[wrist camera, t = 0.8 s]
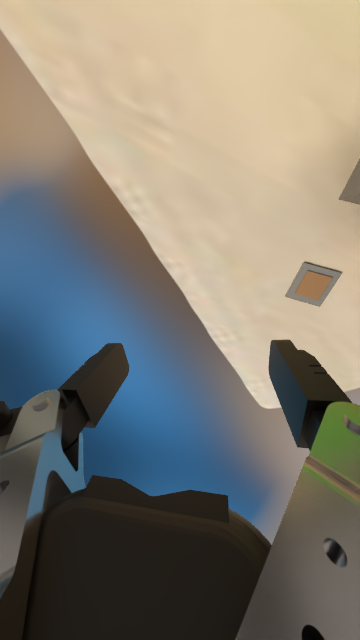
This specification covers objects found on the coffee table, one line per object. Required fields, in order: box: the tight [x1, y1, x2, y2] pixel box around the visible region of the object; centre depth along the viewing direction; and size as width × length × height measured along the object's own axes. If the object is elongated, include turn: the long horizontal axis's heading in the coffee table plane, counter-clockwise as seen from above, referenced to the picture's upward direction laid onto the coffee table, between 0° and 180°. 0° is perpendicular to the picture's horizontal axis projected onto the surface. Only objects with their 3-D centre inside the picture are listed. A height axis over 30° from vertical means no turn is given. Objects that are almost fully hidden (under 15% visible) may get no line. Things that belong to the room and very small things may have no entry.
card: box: [285, 262, 341, 307], centre depth 30 cm, size 6×6×1 cm
